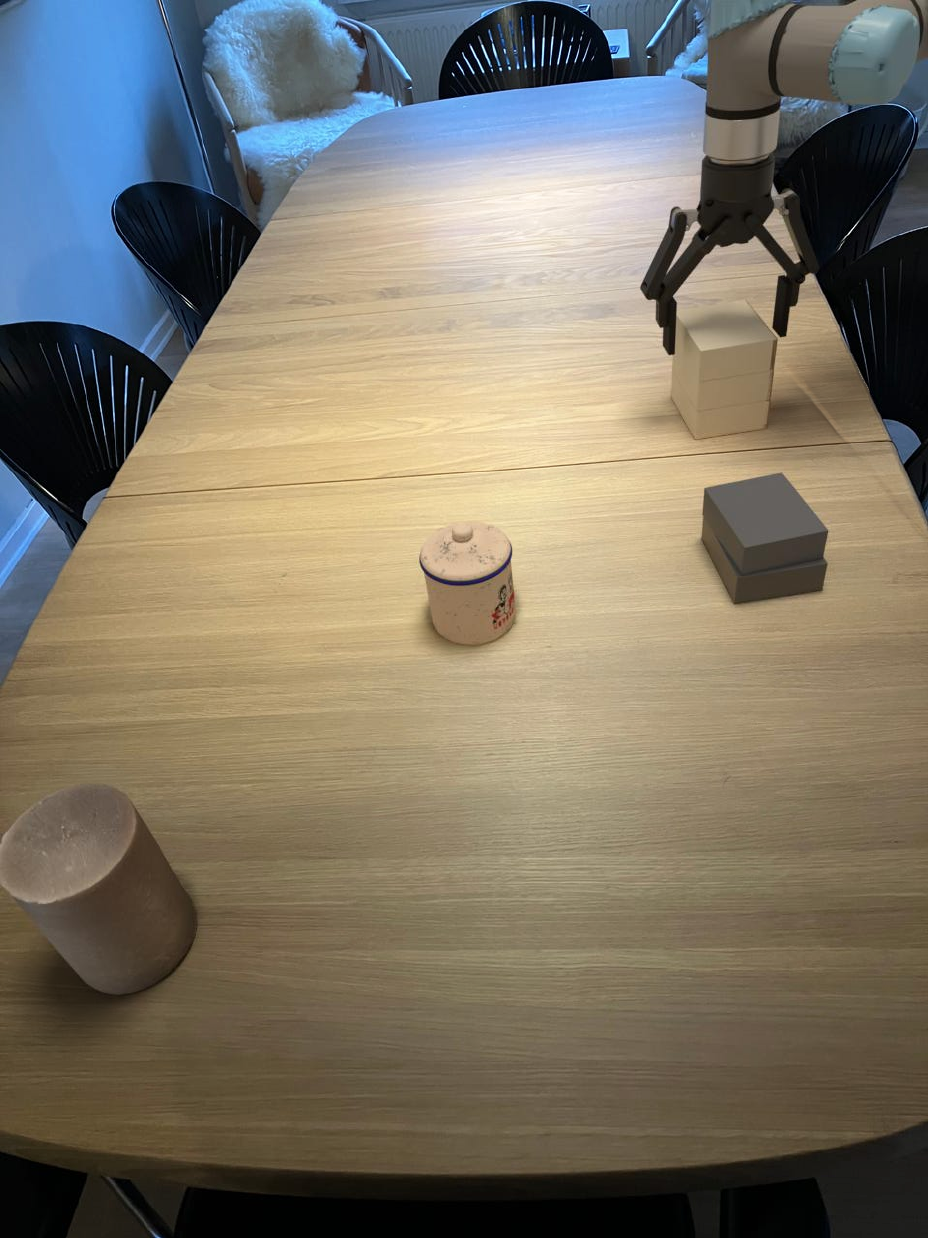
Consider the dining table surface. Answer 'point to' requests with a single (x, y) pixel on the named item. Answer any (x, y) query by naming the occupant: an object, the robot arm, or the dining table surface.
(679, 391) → the cream books
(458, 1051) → the dining table surface
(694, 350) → the cream book
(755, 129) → the robot arm
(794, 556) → the grey books
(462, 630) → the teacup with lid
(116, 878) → the pillar candle
